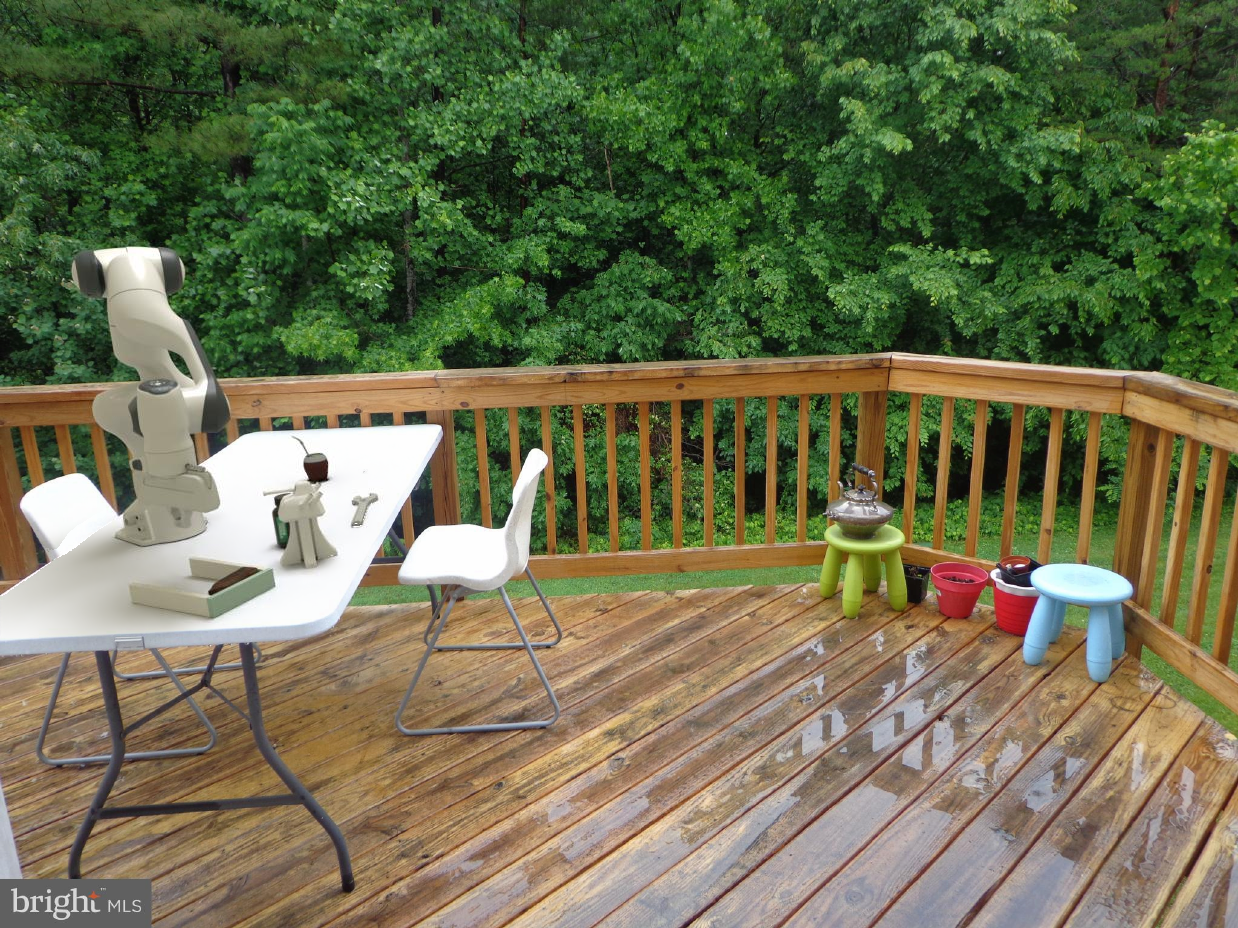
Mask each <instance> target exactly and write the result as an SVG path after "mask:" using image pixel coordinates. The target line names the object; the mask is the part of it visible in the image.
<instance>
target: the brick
mask: <svg viewBox="0 0 1238 928" xmlns="http://www.w3.org/2000/svg"><path fill="white" fill-rule="evenodd" d="M256 573H259V571H258V569H257V568H256V567H241V568H240V569H238V570H237V571H235V572H233V573H231V574H229V575H228V576H226V577H224V578H222V579H221V580H218V581H216V582H215V583H213V584H212V585H211V588H210V589H209V590H208V592H207V595H210V596H212V595H214V594H216V593H218V592H220V591H222V590H224V589H226V588H228V587H230V586H232V585H234V584H236V583H238V582H240V581H242V580H244V579H246V578H248V577H250V576H252V575H254V574H256Z"/></svg>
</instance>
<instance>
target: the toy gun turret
mask: <svg viewBox="0 0 1238 928" xmlns="http://www.w3.org/2000/svg"><path fill="white" fill-rule="evenodd" d="M321 487H322V484H321V483H320V481H319V482H317V483H316V484H311V481H308V480H305V481H298V482H297V483H295V485H294V486H293V487H289V488H281V489H276V490H269V491H268V490H267V491H266V490H265V491H264V490H263V491H262V493H263V496H264V497H266V496H269V495H276V494H277V495H279V494H284V493H291V494H288V495H286V496H283V498H282V500H281V502H280V506H279V511H278V515H279V520H281V521H282V522H284V523H286V522H289V523H290V536H289V540H288V544H287V547H286V548H284V551H283V554H282V555H281V557H280V566H282V567H283V566H287V565H294V564H298V563H304V566H305V569H311V568H316V567H317V566H318V565H317V560H319V559H318V558H320V559H323V557H326V558H329V557H328V556H331V555H336V556H338V555H339V554H338V551H337V548H336V547H335V546H334V545H333V544H332V543H331V542H330V541H329V540H328V539H327V538H326V536H325V535H324V533H323V532H322V530H321V528H320V526H319V522H318V518H319V517H323V516H324V514H325V513H326V509H325V507H324V504H323V503H322V501H321V498H322V497H323V495H324V493H322V492H321V491H319V490H320V488H321ZM337 554H338V555H337ZM331 557H332V556H331ZM316 559H317V560H316Z"/></svg>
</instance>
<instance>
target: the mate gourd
mask: <svg viewBox="0 0 1238 928" xmlns="http://www.w3.org/2000/svg"><path fill="white" fill-rule="evenodd" d="M291 437H292V438H293V439H295V440H297V441H298V442H299V444H300V445H301V446H302V448H303V450H304V451H305V454H306V455H304V458H303V462H302V463H303V464H302V466H303V470H304V472H305V474H306V475H307V478H308V479H307V481H308V482H312V485H315V484H316V483H317V482H319V483H320V482H328V481H329V478H328V476H329V459H328V458H327V455H325V453H321V452H313V453H309V451H308V450H307V448H306V446H305V444H304V442H303V440H301V439H300V438H298V437H296V436H293V435H291Z"/></svg>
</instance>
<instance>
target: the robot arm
mask: <svg viewBox="0 0 1238 928" xmlns="http://www.w3.org/2000/svg"><path fill="white" fill-rule="evenodd" d="M71 264H72V265H71V277H72V280H73V283H74V285H75V286H76V287H77V289H78V290H79V292H80V294H82V295H84V296H85V297H87V298H92V299H97V300H101V299H102V298H105V299H106V308H107V309H106V311H107V319H108V325H109V331H110V337H111V342H112V349H113V354H114V356H115V357H116V359H117V360H118V361H119V362H120V363H122V364H123V365H126V366H128V367H131V368H134V369H135V370H136V371H137V373H138V376H139V378H140V381H138V382H132V383H127V384H123V385H122V384H121V385H117V386H114V387H111V388H108V389H107V390H104V391H102V392H100V393H98V394H97V395H96V396H95V398H94V399H93V402H92V405H91V408H92V409H91V411H92V415H93V418H94V420H95V422H96V423H97V425H98V426H100V428H102V429H103V430H104V431H106V432H108V433H110V434H112V435H114V436H116V437H117V438H118V439H120V440H121V441H122V442H123V443H124V444H125V446H126V447H127V449H128V450H129V452H130V453H131V457H132V458H131V459H130V460H129V462H128V463H129V468H130V469H131V470H132V482H133V487H134V488H133V490H134V491H135V495H136V498H135V500H134V501H133V502H132V503H131V504H130V505H129V506H128V507H127V508H126V509H125V510H124V512H123V514H122V521H123V528H121V529H119V530H117V531H115V532H114V537H115V538H117V539H119V540H124V541H127V542H130V543H132V544H135V545H139V546H140V547H146V546H147V547H148V546H152V545H156V544H161V543H162V544H163V543H171V542H176V541H181V540H185V539H189V538H192V537H194V536H196V535H199V534H201V533H202V532H204V531H205V530H207V523H208V521H209V520H208V518H207V517H205V516H204V514H207V513H210V512H213V511H216V510H218V509H219V507H220V506H221V499H220V494H219V491H218V488H217V487H218V486H217V484H216V481H215V478H214V477H213V475H212V473H211V472H210V471H209V470H208V469H207V468H206V467H205V466H203V465H198V463H197V458H196V457H197V456H196V452H195V451H196V449H195V444H194V442H193V438H192V437H191V435H194V434H213V433H216V434H217V433H219V432H221V431H222V430H223V429H224V428H225V427H226V426H227V425H228V423H229V422H230V421H231V417H232V416H231V414H232V412H231V411H232V409H231V405H230V402H229V398H228V397H227V395H226V394H225V392H224V391H223V389H222V387H221V384H220V383H219V381H218V379H217V377H216V375H215V371H214V370H213V368H212V366H211V364H210V362H209V360H208V359H209V358H208V357H207V355H206V353H205V350H204V348H203V346H202V343H201V341H200V340H199V337H198V336H197V334H196V331H195V330H194V328H193V326H192V324H191V323H190V322H189V321H188V320H187V319H185V318H182V317H179V316H178V315H177V314H176V313H175V312H174V310H173V309H172V308H171V306H170V304H169V301H168V297H169V295H172V294H175V293H179V291H180V290H181V289H182V288H183V287H184V283H185V279H186V278H185V276H186V269H185V265H184V263H183V261H182V260H181V258H180V256H179V254H178V253H177V252H176V251H175V250H174V249H172V248H168V247H161V246H158V247H147V246H146V247H144V246H125V247H117V248H115V247H114V248H105V249H98V250H94V249H87V250H83V251H79V252H77V253H76V254H75V256H74V257H73V262H72V263H71ZM169 351H171V352H173V353H175V354H177V355H179V356H180V357H181V358H182V359H183V360H184V362H185V364H186V366H187V368H188V371H189V373H190V375H191V377H192V378H190V377H188V376H187V375H185V374H184V373H182V372H181V371H180V370H179V369H178V367H176V365H175V363H174V362H173V360H172V359H171V356H170V353H169Z"/></svg>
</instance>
